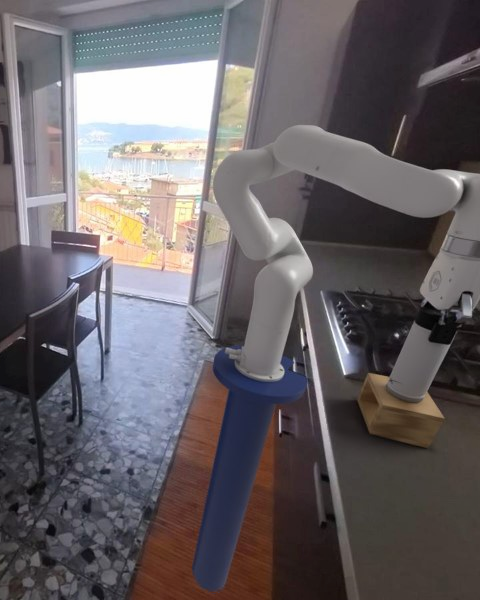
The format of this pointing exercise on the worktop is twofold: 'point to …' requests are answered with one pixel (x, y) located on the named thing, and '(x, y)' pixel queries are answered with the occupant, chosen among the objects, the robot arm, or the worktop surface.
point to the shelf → (398, 414)
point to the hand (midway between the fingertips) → (431, 333)
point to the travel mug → (417, 359)
